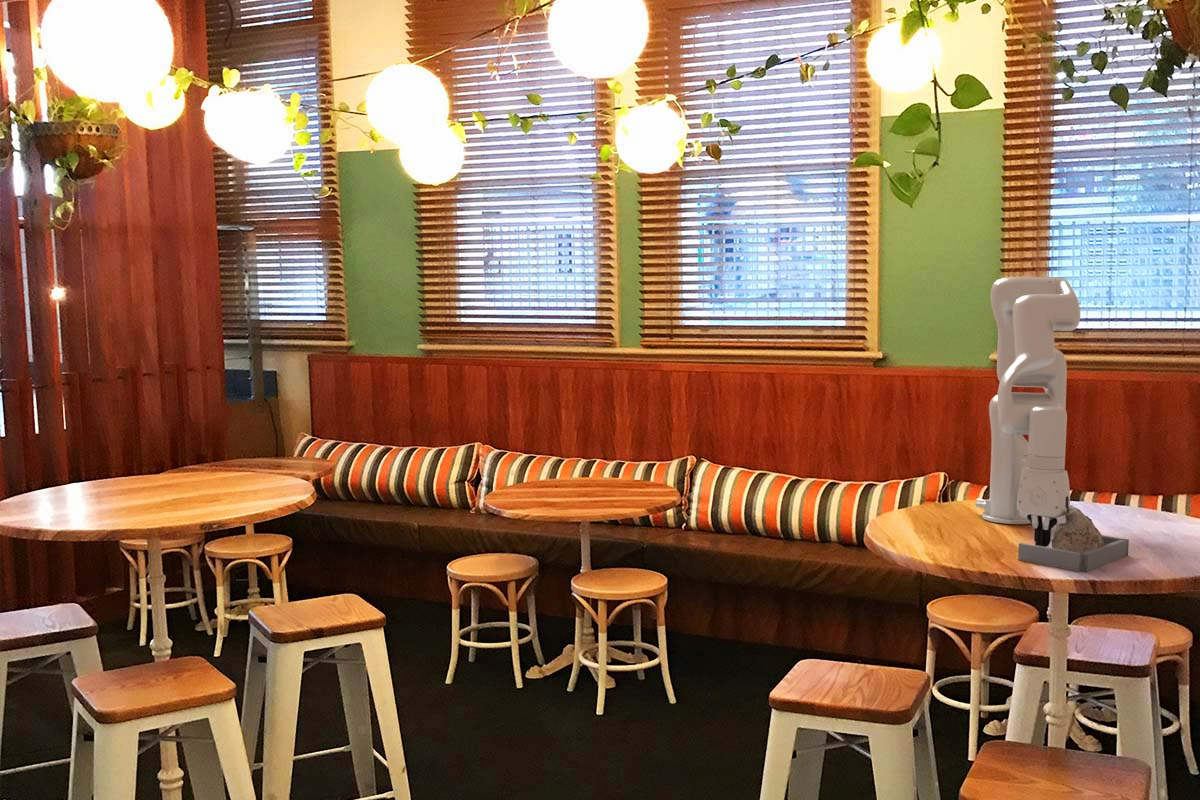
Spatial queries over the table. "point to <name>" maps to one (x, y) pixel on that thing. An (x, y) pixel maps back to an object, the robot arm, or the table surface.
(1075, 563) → the frame
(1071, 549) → the rock
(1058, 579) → the table surface
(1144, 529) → the table surface
